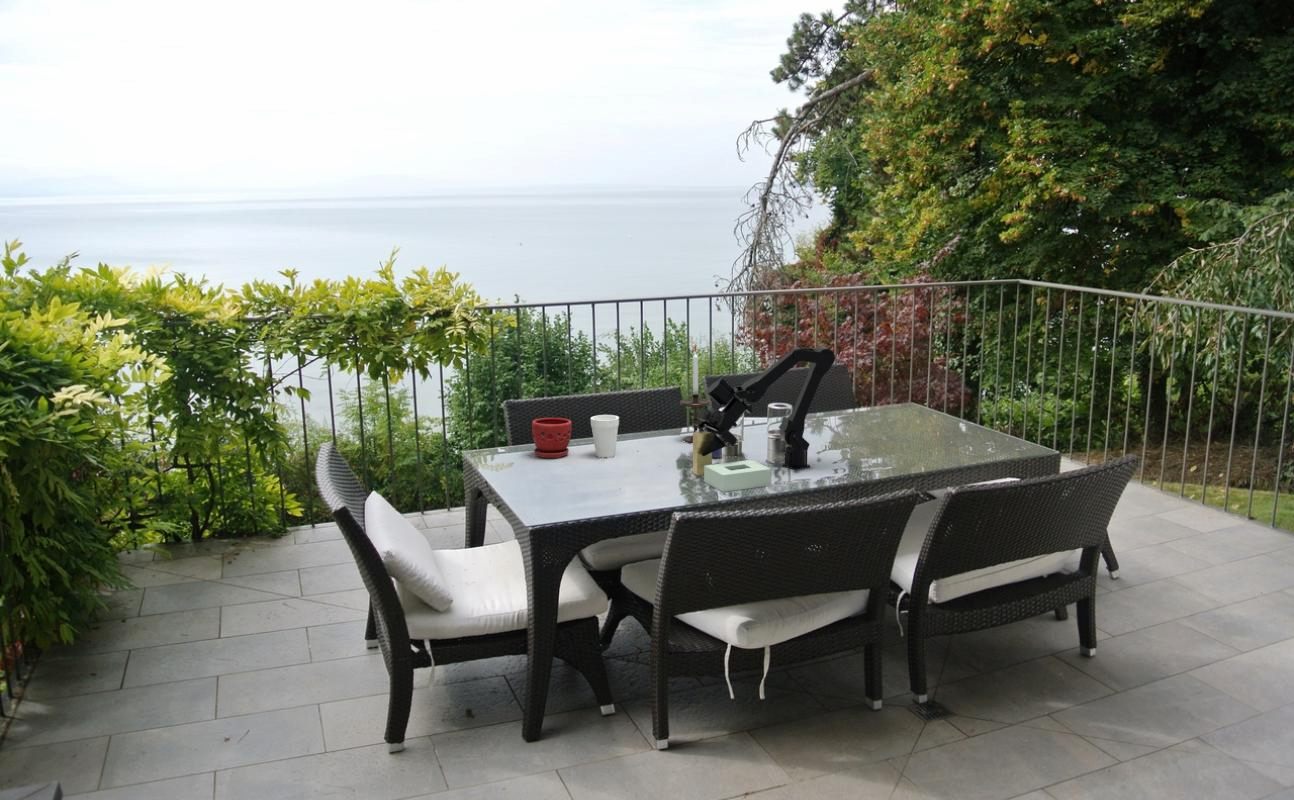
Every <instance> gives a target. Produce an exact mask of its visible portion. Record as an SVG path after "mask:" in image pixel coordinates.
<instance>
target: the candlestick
mask: <svg viewBox="0 0 1294 800" xmlns="http://www.w3.org/2000/svg"><path fill="white" fill-rule="evenodd" d="M693 350H694V351H693V352H694V353H693V355H692V392H690V394H689V395H691V396H692V397H691V398H689V397H688V398H683V399H681V400H680V402H679V403H680V406H683V407H689V408H692V409H693V418H692V419H691V422H692V424H693V426H691V427H692V428H693V432H695V431H697V430H699V429H698V427H697V426H696V425H695V423H696V421H697V420H698V419H699V417H698V415H699V413H698V410H699V409H700V408H703V407H708V406H711V404H712V401H711V399H708V398H701V397H699V396H700V395H702V393H701V392H699V356H698V355H697V344H696V343H694V347H693ZM682 441H685V442H688V443H687V444H691V443H693V434H692V435H687V436H684V437H683V438H682ZM685 442H684V443H685Z"/></svg>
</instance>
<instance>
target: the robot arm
mask: <svg viewBox="0 0 1294 800" xmlns="http://www.w3.org/2000/svg"><path fill="white" fill-rule="evenodd" d="M835 361H836V355H835V353H834V351H833V350H831V349H830V348H828V347H825V346H823V345H822V346H817V347H814V348H809V347H797V346H794V347H792V348H791V349H790V350H789V351H788V352H787V353H786V354H784V355H783V356H782V357H781V358H779V359H778V360H777V361H776V362H775V363H774V364H772V365H771V366H770V367H768V368H767V369H766V370H765V371H764V372H762V373H761V374H759V375H757V376H754V377H753V378H750V379H748V380H747V381H745V382H743V383H742V385H738V386H734V387H733V386H732V387H731V386H730V385H729V384H728V383H727V381H726V380H725V378H722V377H720V378H719V379H718V380H716V381H715V382H713V383H712V384H711V385H710V386H709V387H708V388H707V390H706V395H708V396H709V397H710V398H711V399H712V400H713V401H714V402H715V403H716V404H717V405H719V406H723V405H724V407H723V409H721V410H717V409H714V408H713V409H712V410H709V409H705V408H703V407H700V409H699V413H698V420H697V421H696V423H695V425H696V426H697V427H698V430H699V432H703V431H709V432H711V440H710V441H709V443H708V444H707V446H706V447H705V448H704V450H703V452H702V453H701V455H702V456H706V455H708V454H710V453H712V452H714V451H716V450H719V449H721V448H722V449H723V448H726V447H728V446H729V447H731V448H734V447H735V445H737V443H738V438H737V437H736V436H735V435H734V434H733V433H732V432H731V431H730V430H732V428H733V427H734V428H737V426H738V424H737V422H738V421H739V420H740V419H741V417H742V416H743V415H744V414H745V413H748V414H753V413H754V412H753V404H755V403H757V402H759V401H760V400H761V399H762V398H763V396H764V395H765V394H766V393H767V392H768V390H769V388H770V387H771V385H773V383H776V381H778V379H780V378H781V377H782V376H784V375H785V374H786V373H788V372H789V370H791V369H792V368H793V367H795V366H796V365H797V364H798V363H800V362H806V363H809V367H808V374H807V375H806V378H805V381H804V383H803V386H802V388H801V390H800V392H799V395H798V396H797V397H798V398H797V400H796V402H795V403H794V404H795V405H794V407H793V409H792V412H791V414H790V415H789V416H788V417H786V416H783V417H782V421H781V423H780V425H779V426H778V429H779V432H778V433H779V437H780V438H781V439H782V440H783V441H784V442H785V445H786V446H787V447H786V446H785V452H784V463H783V462H782V466H784V467H785V468H786V467H787V468H789V469H792V470H800V469H805V468H810V467H811V464H808V450H809V448H810V443H809V441H807V440H806V439H805V438H804V431H805V426H806V425H805V424H806V423H805V422H806V417H807V415H808V413H809V410H810V408H811V405H812V403H813V400H814V399H815V396H816V394H817V392H818V389H819V386H820V385H821V382H822V378H823V377H824V376H826V375H827V373H828V372H829V371H830V370H831V367H832V366H833V365H834V363H835ZM735 395H736V396H735ZM737 397H738V398H739V399H738V398H737ZM744 400H745V401H744ZM746 401H747V402H748V403H750V404H748V403H747V402H746ZM751 403H753V404H751Z"/></svg>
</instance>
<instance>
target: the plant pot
mask: <svg viewBox="0 0 1294 800" xmlns="http://www.w3.org/2000/svg"><path fill="white" fill-rule="evenodd" d="M531 432H532V439H533V442H534V445H535V447H536V448H535V449H534V450H533V452H534V455H536V456H538V457H540V458H542V459H556V458H562V457H564V456H566V455H567V454H569V451H570V449H569V448H568V446H569V443H570V441H571V437H572V436H571V435H572V421H571V419H567V418H563V417H562V418H561V417H543V418H542V417H541V418H537V419H534V420H532V423H531ZM543 433H544V435H543Z"/></svg>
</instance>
